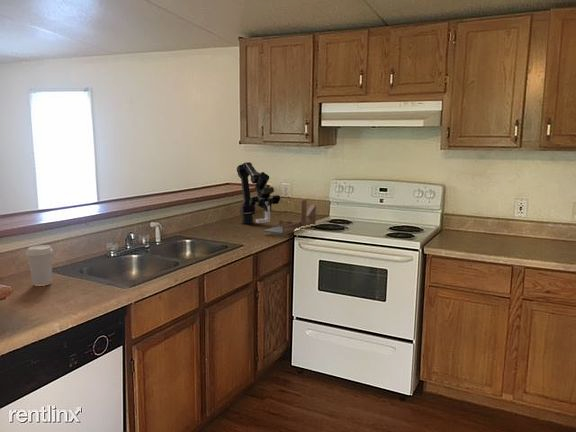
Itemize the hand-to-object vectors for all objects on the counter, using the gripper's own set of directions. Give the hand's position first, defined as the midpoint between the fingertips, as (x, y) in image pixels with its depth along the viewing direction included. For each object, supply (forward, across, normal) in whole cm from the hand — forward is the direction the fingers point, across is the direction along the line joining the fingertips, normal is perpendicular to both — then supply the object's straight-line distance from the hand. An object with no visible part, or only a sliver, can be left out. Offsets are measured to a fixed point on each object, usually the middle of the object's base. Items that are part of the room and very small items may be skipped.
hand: (269, 211), depth 287 cm
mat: (+6, +11, +13) cm, 18 cm away
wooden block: (+5, +30, +15) cm, 34 cm away
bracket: (+3, -3, +6) cm, 8 cm away
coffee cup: (+46, -121, -27) cm, 132 cm away
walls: (+6, +11, +13) cm, 18 cm away
